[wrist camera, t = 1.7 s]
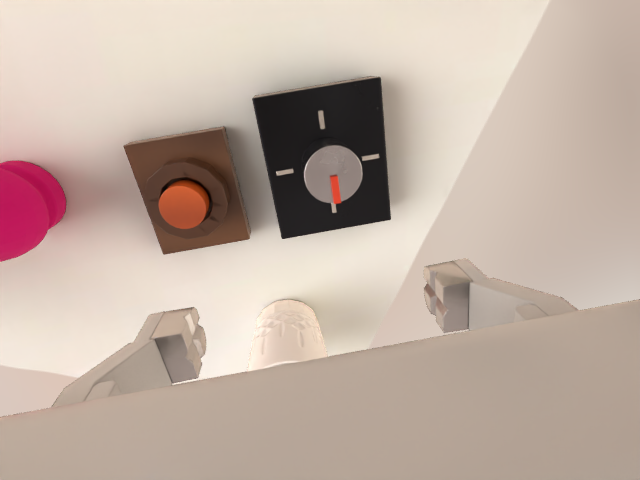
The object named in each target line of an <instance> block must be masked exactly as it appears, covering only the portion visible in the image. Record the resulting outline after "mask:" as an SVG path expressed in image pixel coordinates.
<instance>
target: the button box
mask: <svg viewBox="0 0 640 480" xmlns="http://www.w3.org/2000/svg"><path fill="white" fill-rule="evenodd" d="M124 149H125V151H126V154H127V157H128V160H129V162H130V165H131V168H132V170H133V173H134V176H135V179H136V181H137V184H138V187H139V189H140V192H141V195H142V197H143V200H144V203H145V206H146V208H147V211H148V214H149V216H150V219H151V222H152V225H153V227H154V230H155V233H156V235H157V238H158V241H159V244H160V246H161V249H162V252H163V254H169V253H175V252H181V251H186V250H192V249H198V248H203V247H209V246H214V245H220V244H226V243H231V242H237V241H242V240H248V239H250V233H251V231H250V227H249V223H248V219H247V215H246V211H245V207H244V203H243V199H242V195H241V191H240V187H239V183H238V179H237V175H236V171H235V167H234V163H233V159H232V155H231V151H230V147H229V143H228V139H227V135H226V131H225V127H218V128H212V129H206V130H200V131H194V132H188V133H182V134H176V135H170V136H164V137H158V138H152V139H146V140H140V141H134V142H130V143H128V144H126V145H124ZM180 180H189V181H193V182H195V183H197V184H199V185H200V186H201V187H202V188H203V189H204V190H205V191H206V193H207V195H208V197H209V209H208V211H207V213H206V215H205V217H204V219H203V221H202V222H201V223H200V224H199V225H197V226H195V227H193V228H189V229H180V228H177V227H174V226H172V225H170V224H169V223H168V222H166V221H165V220H164V218H163V217H162V215H161V213H160V210H159V200H160V197H161V195H162V194H163V192H164V191H165V190H166V189H167V188H168V187H169V186H170V185H171V184H173V183H174V182H177V181H180Z"/></svg>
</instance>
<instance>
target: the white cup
mask: <svg viewBox="0 0 640 480" xmlns="http://www.w3.org/2000/svg"><path fill="white" fill-rule="evenodd" d="M323 357H328V356H327V351H326V348H325V344H324V341H323V337H322V333H321V330H320V328H319V323H318V320H317V318H316V316H315V313H314V311H313V310H312V309H311V308H310V307H308V306H307V305H306V304H304V303H303V302H299V301H294V300H290V299H288V300H282V301H276V302H274V303H272V304H270V305H269V306H267V307H266V308H264V309H263V310H262V312H261V313H260V315H259V317H258V318H257V320H256V327H255V333H254V336H253V340H252V345H251V350H250V355H249V360H248V367H247V371H252V370H258V369H263V368H269V367H274V366H280V365H285V364H291V363H296V362H302V361H307V360H312V359H318V358H323Z"/></svg>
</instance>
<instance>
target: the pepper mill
mask: <svg viewBox="0 0 640 480" xmlns="http://www.w3.org/2000/svg"><path fill="white" fill-rule="evenodd" d="M65 209H66V199H65V195H64V191H63V190H62V188H61V186H60V184H59V183H58V181H57V180H56V179H55V178H54V177H53V176H52V175H51V174H50V173H48V172H47V171H45V170H44V169H42V168H41V167H39V166H36V165H34V164H31V163H28V162H24V161H7V162H3V163H0V262H1V261H5V260H8V259H12V258H15V257H18V256H20V255H22V254H24V253H26V252H28V251H30V250H31V249H33V248H34V247H36V246H37V245H38V244H39V243H40V242H41V241H42V240H43V238H44V237H45V235H46V233H47V230H48V229H50V228H51V227H53V226H54V225H56V224H57V223H58V222H59V221H60V220H61V219H62V217H63V215H64V213H65Z"/></svg>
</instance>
